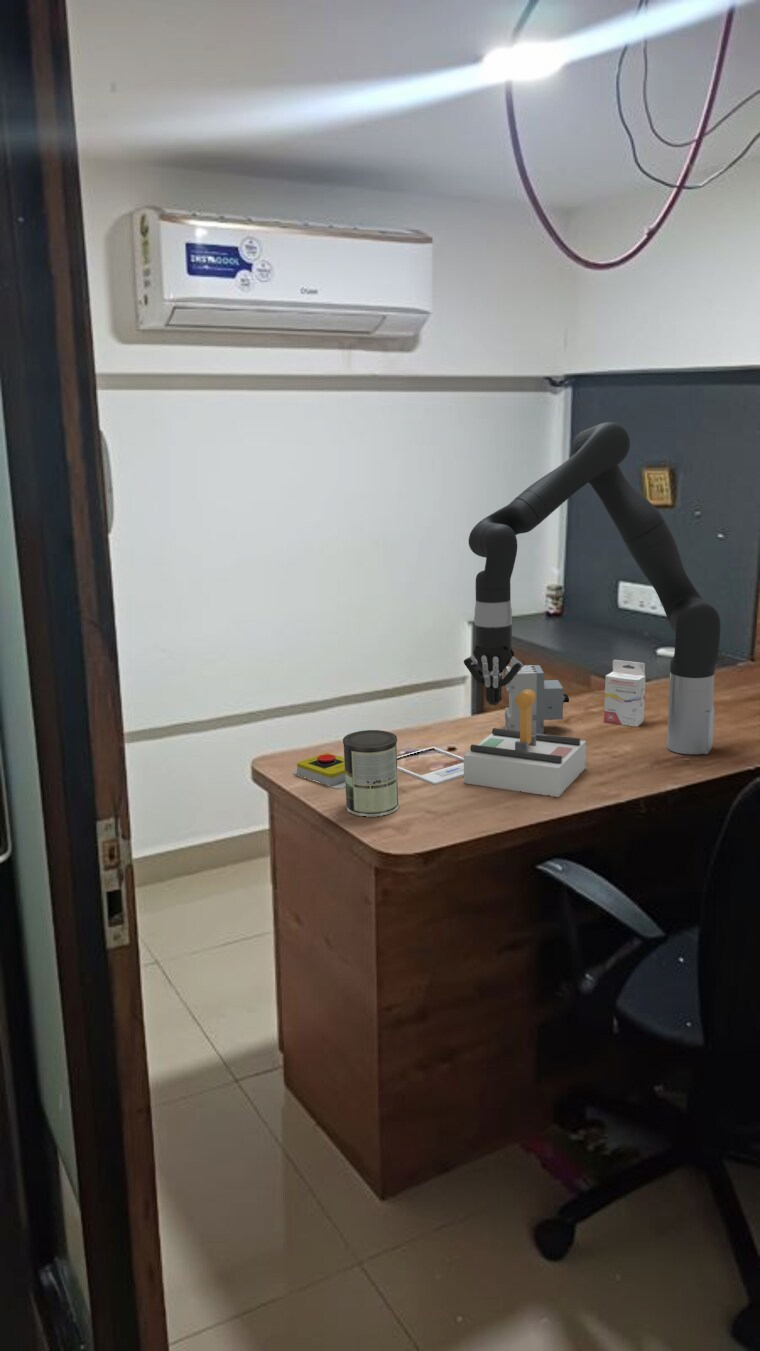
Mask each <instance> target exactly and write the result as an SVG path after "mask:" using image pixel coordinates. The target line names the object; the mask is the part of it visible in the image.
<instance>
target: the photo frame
mask: <svg viewBox="0 0 760 1351" xmlns="http://www.w3.org/2000/svg"><path fill="white" fill-rule="evenodd" d="M432 748H434V749H432ZM429 749H430V750H435V752H437V753H439V752H440V754H442V755H444V756H447V757H449V758H453V759H455V760H458V761H461V763H457V764H454V765H452V766H451V765H450V766H448V767H444V768H441V769H437V770H435V771H432V772H431V771H430V772H428V773H425V774H424V773H423V774H419V773H416V772H413V771H411V770H408V769H405V768H403V767H401V766H398V765H397V769H398V770H397V771H399V770H400V771H399V772H401V771H403V772H402V773H404V772H405V773H404V774H406V773H407V775H409V774H410V775H409V776H411V775H412V777H414V778H416V779H419V780H420V781H424V782H425V783H428V784H431V785H433V786H437V785H441V784H444V783H447V782H449V781H450V782H451V781H453V779H454V780H456V779H460V778H462V777H463V778H464V756H463V757H462V756H459V755H457V754H454V753H452V752H448V751H446V750H444V749H440V748H438V747H435V746H430V747H427V748H424V749H419V750H417V751H413V752H409V753H406V754H402V755H399V756H398V755H397V760H398V758H399V759H401V758H400V757H402V758H404V757H403V756H406V757H408V756H407V755H409V756H411V755H410V754H413V755H415V754H414V753H416V754H418V753H417V752H420V753H422V752H421V751H423V752H426V751H425V750H427V751H430V750H429Z"/></svg>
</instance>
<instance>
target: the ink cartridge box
mask: <svg viewBox="0 0 760 1351" xmlns="http://www.w3.org/2000/svg"><path fill="white" fill-rule="evenodd" d="M628 665H629V666H630V667H634V668H629V667H624V666H628ZM646 678H647V677H646V663H644V662H637V661H629V660H621V659H620V660H619V659H613V660H612V671H611V672H610V673H608V674H606V675H605V682H604V685H605V686H604V708H603V709H604V710H603V713H604V714H603V723H609V724H614V725H615V724H616V725H622V726H628V725H629V726H630V727H635V726H636V728H637V727H639V726H640V725H641V724H642V723H643V722H644V720H645V719H644V718H645V699H646V698H645V696H646V693H645V692H646Z"/></svg>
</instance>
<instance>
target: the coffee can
mask: <svg viewBox="0 0 760 1351" xmlns="http://www.w3.org/2000/svg"><path fill="white" fill-rule="evenodd" d="M342 743H343V754H344V755H343V756H344V757H343V758H344V761H345V781H346V787H345V797H346V798H345V799H346V806H345V807H346V811H347V812H348V813H349V812H350V813H349V814H351V813H352V814H351V815H353V814H355V815H354V816H356V815H359V816H358V817H361V816H366V817H365V818H376V817H377V816H380V817H384V816H383V815H385V816H387V815H391V814H393V813H394V812H396V811H397V810H398V809H399V806H400V804H399V786H398V785H399V783H398V778H399V777H398V770H397V766H398V759H397V757H398V753H397V752H398V750H397V749H398V748H397V743H398V737H397V735H396V734H395V733H392V732H390V731H386V730H380V729H379V730H378V729H368V730H365V729H364V730H359V731H355V732H350V733H348V734H346V735H345V736H344V737H343V739H342ZM377 818H378V817H377Z"/></svg>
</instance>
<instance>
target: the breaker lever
mask: <svg viewBox="0 0 760 1351" xmlns="http://www.w3.org/2000/svg"><path fill="white" fill-rule="evenodd" d="M535 701H536V694H535V692H534V691H532V690H530V689H526V690H524V691H523V692H521V693H520V694H519V695H517V697H516V699H515V702H516V705H517V706H518V707H519V708H520V741H521V742H528V744H529V743H531V734H532V704H533V703H534V702H535Z"/></svg>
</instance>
